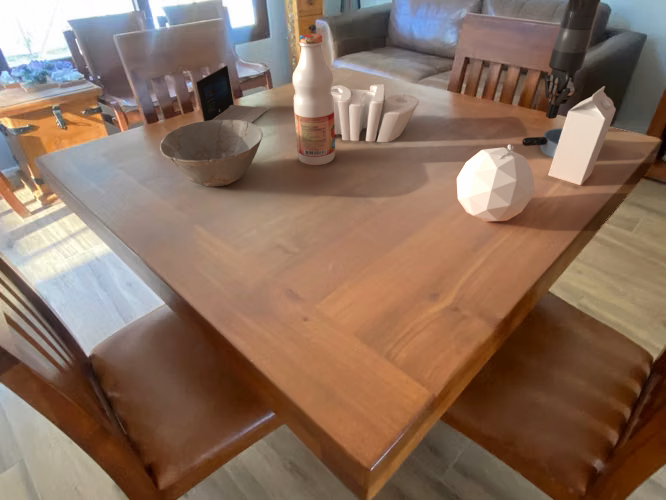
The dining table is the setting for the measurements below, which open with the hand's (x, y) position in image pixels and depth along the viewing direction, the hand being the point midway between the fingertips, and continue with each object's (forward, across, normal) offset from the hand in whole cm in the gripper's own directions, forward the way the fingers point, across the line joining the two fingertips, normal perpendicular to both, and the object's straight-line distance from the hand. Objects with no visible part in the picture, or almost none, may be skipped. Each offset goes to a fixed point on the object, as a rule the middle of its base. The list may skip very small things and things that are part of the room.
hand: (550, 117), depth 114 cm
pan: (+4, -12, +4) cm, 13 cm away
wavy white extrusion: (+4, +8, +52) cm, 53 cm away
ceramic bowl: (+3, -17, +86) cm, 88 cm away
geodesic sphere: (+4, -39, +30) cm, 49 cm away
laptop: (+3, +21, +86) cm, 89 cm away
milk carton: (+4, -24, +6) cm, 26 cm away
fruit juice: (+4, -9, +63) cm, 64 cm away
